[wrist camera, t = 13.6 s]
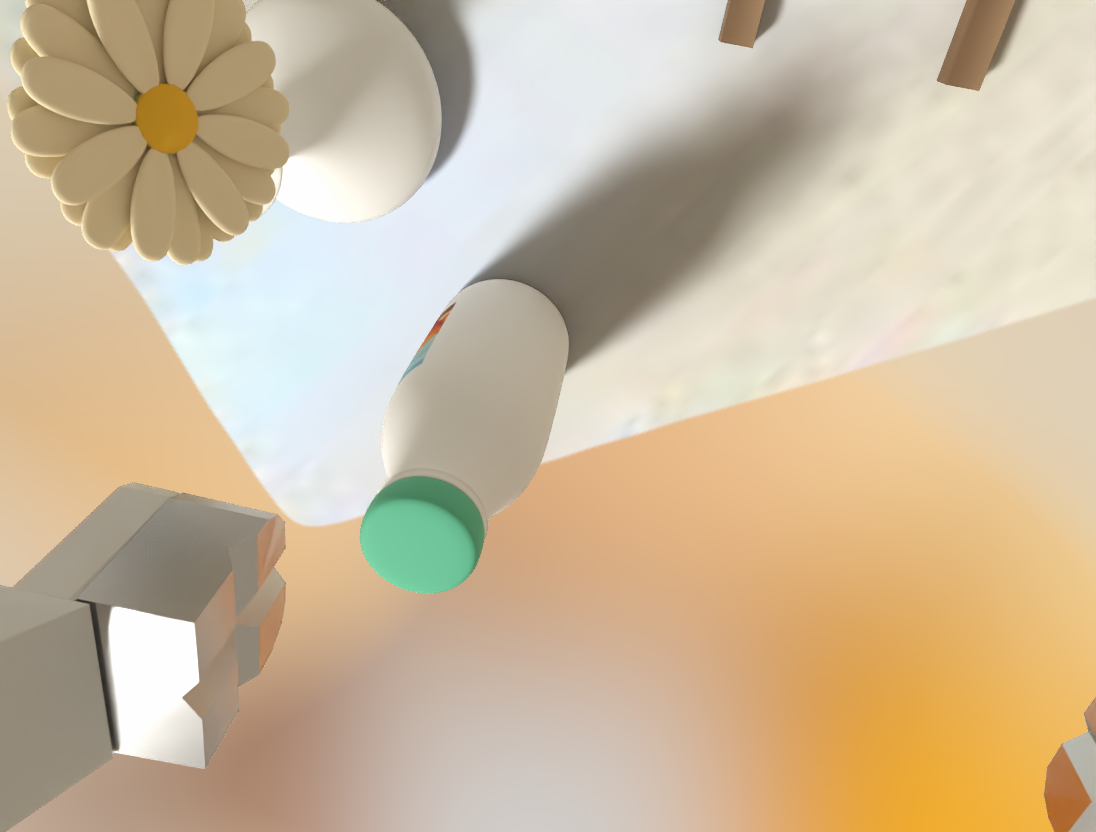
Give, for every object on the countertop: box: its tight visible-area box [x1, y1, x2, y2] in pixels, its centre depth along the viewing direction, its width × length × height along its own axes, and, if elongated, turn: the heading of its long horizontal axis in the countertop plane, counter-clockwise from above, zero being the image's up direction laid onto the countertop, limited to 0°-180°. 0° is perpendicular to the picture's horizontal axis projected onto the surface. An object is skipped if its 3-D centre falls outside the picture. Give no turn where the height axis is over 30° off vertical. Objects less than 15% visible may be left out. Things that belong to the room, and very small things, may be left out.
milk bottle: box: [360, 279, 569, 593], centre depth 39 cm, size 8×8×20 cm
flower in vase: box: [7, 0, 442, 265], centre depth 31 cm, size 13×11×25 cm
